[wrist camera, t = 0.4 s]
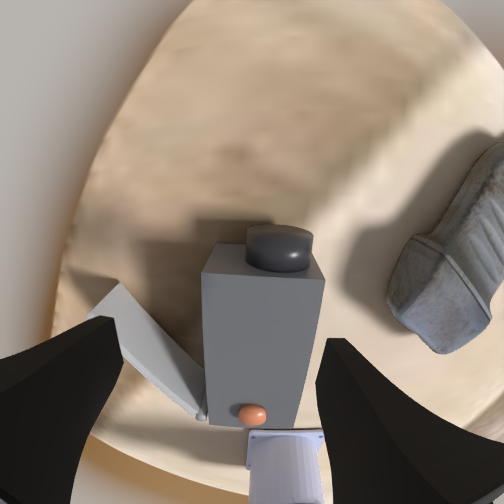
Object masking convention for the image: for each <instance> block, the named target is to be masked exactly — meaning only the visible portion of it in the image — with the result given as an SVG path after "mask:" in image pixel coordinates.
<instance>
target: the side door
mask: <svg viewBox="0 0 504 504" xmlns="http://www.w3.org/2000/svg"><path fill="white" fill-rule="evenodd" d="M99 315H102V316H108V317H113V318H114V320H115V325H116V330H117V335H118V340H119V344H120V349H121V353H122V355H123V356H124V357H125V358H126V359H127V360H128V361H129V362H130V363H131V364H132V365H133V366H134V367H135V368H136V369H137V370H138V371H139V372H140V373H142V374H143V375H144V376H145V377H146V378H147V379H148V380H149V381H150V382H152V383H153V384H154V385H155V386H156V387H157V388H158V389H160V390H161V391H162V392H163V393H164V394H166V395H167V396H168V397H169V398H170V399H172V400H173V401H174V402H175V403H177V404H178V405H179V406H180V407H182V408H183V409H184V410H186V411H187V412H188V413H189V414H191V415H194V414H196V419H197V420H198V421H202V422H203V421H206V420H207V415H208V405H207V393H206V379H205V370H204V369H203V368H202V367H201V366H200V365H199V364H198V363H197V362H195V361H194V360H193V359H192V358H191V357H190V356H189V355H188V354H187V353H186V352H185V351H184V350H183V349H182V348H181V347H180V346H179V345H178V344H177V343H176V342H175V341H174V340H173V339H172V338H171V337H170V336H169V335H168V334H167V333H166V332H165V331H164V330H163V329H162V328H161V327H160V326H159V325H158V324H157V323H156V322H155V321H154V319H153V318H152V317H151V316H150V315H149V314H148V313H147V312H146V311H145V310H144V309H143V308H142V306H141V305H140V304H139V303H138V302H137V301H136V300H135V299H134V297H133V296H132V295H131V294H130V293H129V292H128V291H127V289H126V288H125V287H124V286H123V285H122V284H121V282H120V283H119V284H118V285H116V286H115V287H114V288H113V289H112V290H111V291H110V292H109V293H108V294H107V295H106V296H105V297H104V298H103V299H102V300H101V301H100V302H99V303H98V304H97V305H96V306H95V307H94V308H93V309H92V310H91V311H90V312H89V313H88V314H87V316H86V317H87V318H88V319H91V318H94V317H96V316H99Z"/></svg>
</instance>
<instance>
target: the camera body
mask: <svg viewBox="0 0 504 504" xmlns="http://www.w3.org/2000/svg"><path fill="white" fill-rule="evenodd" d="M312 244H313V234H312V233H311V232H309V231H307V230H305V229H302V228H298V227H293V226H287V225H275V224H266V225H256V226H252V227H249V228H248V229H247V232H246V244H230V243H216V245H215V246H214V248H213V250H212V252H211V254H210V256H209V258H208V260H207V262H206V264H205V266H204V268H203V270H202V272H201V294H202V324H203V346H204V363H205V379H206V393H207V405H208V417H209V424H210V425H219V426H230V427H243V428H265V429H293V426H294V422H295V419H296V415H297V411H298V408H299V404H300V400H301V396H302V392H303V388H304V384H305V380H306V375H307V371H308V367H309V362H310V358H311V353H312V349H313V344H314V339H315V334H316V329H317V324H318V319H319V314H320V308H321V303H322V297H323V291H324V285H325V278H324V276H323V274H322V272H321V270H320V268H319V266H318V264H317V262H316V260H315V258H314V256H313V254H312V253H311V252H312Z"/></svg>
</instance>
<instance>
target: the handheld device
mask: <svg viewBox="0 0 504 504" xmlns="http://www.w3.org/2000/svg"><path fill="white" fill-rule="evenodd" d="M503 280H504V142H501V143H497V144H496V145H494V146H492V147H491V148H489V149H488V150H487V151H486V152H485V153H484V154H483V155H482V156H481V157H480V158H479V159H478V161H477V162H476V163H475V165H474V166H473V168H472V169H471V171H470V173H469V174H468V176H467V178H466V179H465V181H464V183H463V185H462V186H461V188H460V190H459V192H458V193H457V195H456V197H455V199H454V200H453V202H452V203H451V205H450V207H449V209H448V210H447V212H446V214H445V215H444V217H443V218H442V220H441V222H440V223H439V225H438V226H437V228H436V229H435V230H434V231H433V232H432V233H430V234H427V235H414V236H413V237H412V238H411V239H410V240H409V241H408V242H407V244H406V246H405V247H404V249H403V252H402V254H401V256H400V258H399V261H398V263H397V266H396V268H395V270H394V273H393V276H392V279H391V281H390V284H389V288H388V290H387V294H386V301H387V304H388V306H389V307H390V309H391V311H392V313H393V315H394V317H395V318H396V320H397V321H398V322H399V323H401V324H402V325H404V326H405V327H407V328H408V329H410V330H411V331H413V332H414V333H416V334H417V335H418V336H419V337H420V339H421V340H422V341H423V342H424V343H425V344H426V345H427V346H429V348H430V349H431V350H432V351H434V352H435V353H438V354H449V353H451V352H454V351H455V350H457V349H459V348H461V347H462V346H464V345H466V344H467V343H469V342H470V341H471V340H473V339H474V338H475V337H477V336H478V335H479V334H480V333H482V332H483V331H484V330H485V329H486V327H487V326H488V325H489V323H490V321H491V319H492V315H491V312H490V301H491V299H492V297H493V295H494V294H495V292H496V291H497V289H498V288H499V286H500V285H501V283H502V282H503Z"/></svg>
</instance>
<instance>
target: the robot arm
mask: <svg viewBox="0 0 504 504" xmlns="http://www.w3.org/2000/svg"><path fill="white" fill-rule="evenodd" d="M123 363H124V361H123V357H122V353H121V349H120V344H119V340H118V335H117V330H116V325H115V320H114V318H113V317H108V316H102V315H99V316H96V317H94V318H91V319H89V320H87V321H85V322H83V323H81V324H79V325H77V326H75V327H73V328H71V329H69V330H67V331H65V332H63V333H61V334H59V335H57V336H55V337H53V338H51V339H49V340H47V341H45V342H43V343H41V344H38V345H36V346H34V347H32V348H30V349H27V350H25V351H23V352H20V353H17V354H15V355H12V356H9V357H6V358H3V359H0V504H70V499H71V494H72V488H73V483H74V479H75V475H76V471H77V467H78V464H79V460H80V457H81V454H82V451H83V448H84V445H85V443H86V440H87V437H88V435H89V433H90V431H91V429H92V427H93V425H94V423H95V421H96V419H97V417H98V416H99V414H100V412H101V410H102V408H103V407H104V405H105V403H106V401H107V399H108V397H109V396H110V394H111V392H112V390H113V388H114V386H115V384H116V382H117V379H118V377H119V374H120V372H121V369H122V366H123ZM315 384H316V396H317V406H318V411H319V416H320V420H321V425H322V429H318V430H250V431H249V437H248V448H247V459H246V469H247V470H250V486H249V504H324V497H323V489H322V481H321V474H320V467H319V460H318V451H319V449H320V447H321V445H322V443H323V441H324V438H325V442H326V447H327V451H328V456H329V460H330V466H331V474H332V487H333V504H493V502H492V501H494V500H495V499H496V498H498V497H499V496H500V495H501V494H503V493H504V443H501V442H497V441H493V440H490V439H487V438H484V437H481V436H479V435H476V434H473V433H471V432H468V431H466V430H464V429H462V428H459V427H457V426H455V425H454V424H452V423H450V422H448V421H446V420H444V419H442V418H440V417H439V416H437V415H435V414H434V413H432V412H430V411H429V410H427V409H426V408H424V407H423V406H422V405H420V404H419V403H417V402H416V401H414V400H413V399H412V398H410V397H409V396H408V395H406V394H405V393H404V392H403V391H401V390H400V389H399V388H398V387H396V386H395V385H394V384H393V383H392V382H391V381H389V380H388V379H387V378H386V377H385V376H384V375H383V374H382V373H381V372H379V371H378V370H377V369H376V368H375V367H374V366H373V365H372V364H371V363H370V362H369V361H368V360H367V359H366V358H365V357H364V356H363V355H362V354H361V353H360V352H359V351H358V350H357V349H356V348H355V347H354V346H353V345H352V344H351V343H349V342H348V341H347V340H346V339H345V338H327V341H326V345H325V349H324V353H323V356H322V360H321V364H320V368H319V371H318V375H317V378H316V382H315Z"/></svg>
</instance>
